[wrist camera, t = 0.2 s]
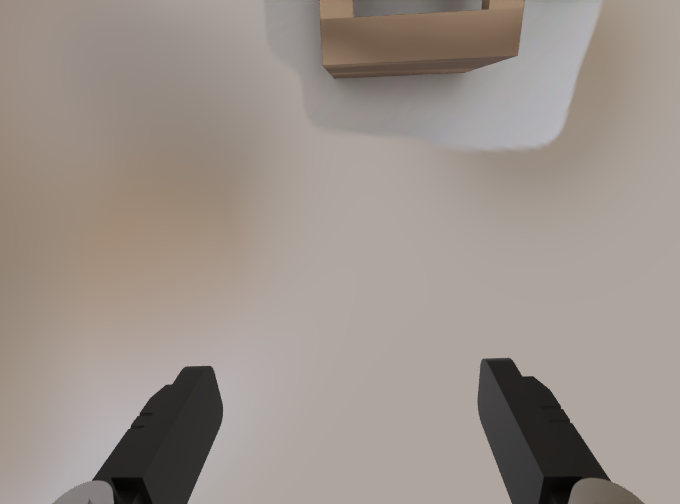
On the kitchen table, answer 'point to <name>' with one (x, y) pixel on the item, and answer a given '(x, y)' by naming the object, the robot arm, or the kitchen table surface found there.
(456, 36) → the wooden rod stand
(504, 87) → the kitchen table surface
